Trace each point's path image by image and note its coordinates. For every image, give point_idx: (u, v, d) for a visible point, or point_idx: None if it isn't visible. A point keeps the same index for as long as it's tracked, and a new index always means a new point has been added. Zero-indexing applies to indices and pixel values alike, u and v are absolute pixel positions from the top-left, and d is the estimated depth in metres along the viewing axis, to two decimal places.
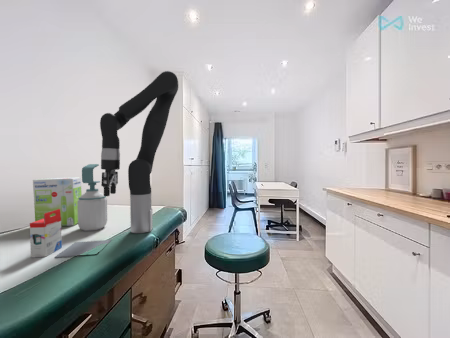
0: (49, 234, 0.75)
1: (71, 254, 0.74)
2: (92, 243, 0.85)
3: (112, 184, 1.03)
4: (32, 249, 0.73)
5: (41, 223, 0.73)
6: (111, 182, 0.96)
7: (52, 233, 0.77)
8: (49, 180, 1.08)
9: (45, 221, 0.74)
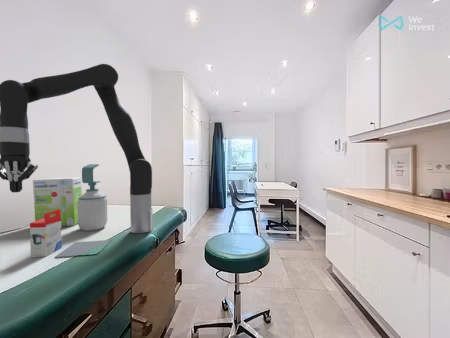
0: (49, 234, 0.75)
1: (71, 254, 0.74)
2: (92, 243, 0.85)
3: None
4: (32, 249, 0.73)
5: (41, 223, 0.73)
6: None
7: (52, 233, 0.77)
8: (49, 180, 1.08)
9: (45, 221, 0.74)
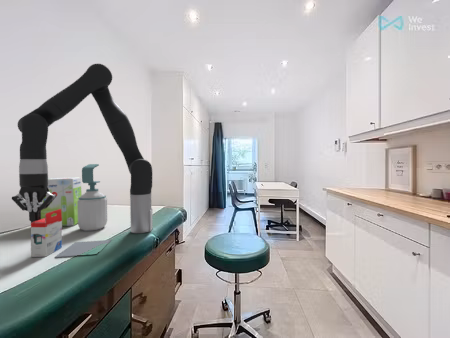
0: (49, 233, 0.75)
1: (71, 254, 0.74)
2: (92, 243, 0.85)
3: None
4: (32, 249, 0.73)
5: (42, 223, 0.73)
6: None
7: (53, 233, 0.77)
8: (49, 180, 1.08)
9: (46, 221, 0.74)
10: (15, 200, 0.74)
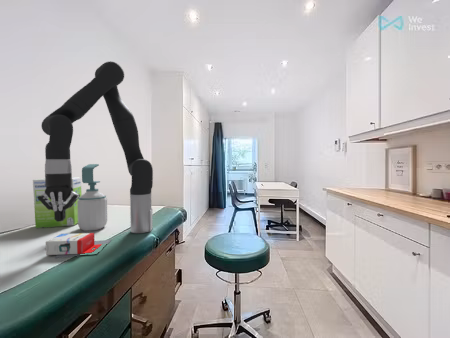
0: None
1: (71, 254, 0.74)
2: None
3: (58, 208, 0.78)
4: (54, 243, 0.74)
5: (81, 251, 0.74)
6: None
7: None
8: None
9: (84, 253, 0.75)
10: (41, 199, 0.76)
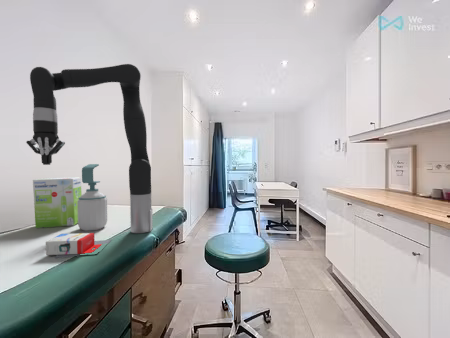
0: None
1: (71, 254, 0.74)
2: None
3: None
4: (54, 243, 0.74)
5: (81, 251, 0.74)
6: None
7: None
8: (49, 180, 1.08)
9: (84, 253, 0.75)
10: (29, 144, 0.85)
